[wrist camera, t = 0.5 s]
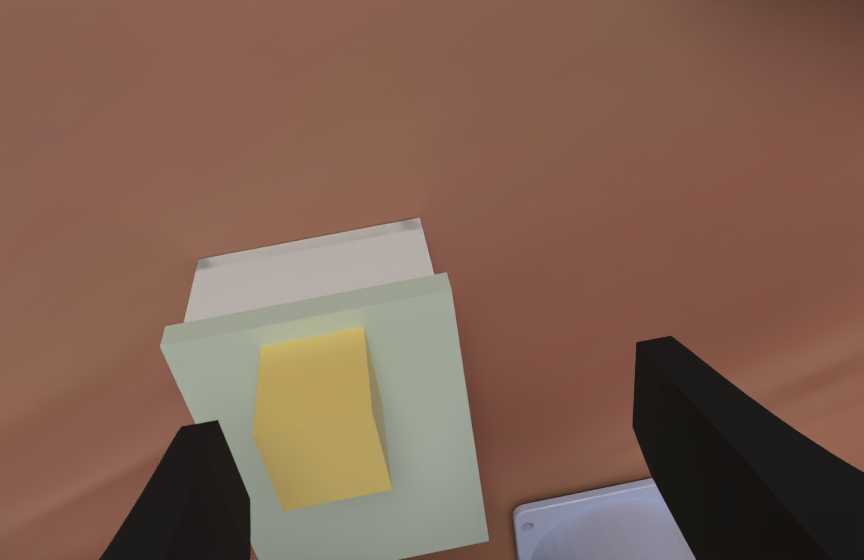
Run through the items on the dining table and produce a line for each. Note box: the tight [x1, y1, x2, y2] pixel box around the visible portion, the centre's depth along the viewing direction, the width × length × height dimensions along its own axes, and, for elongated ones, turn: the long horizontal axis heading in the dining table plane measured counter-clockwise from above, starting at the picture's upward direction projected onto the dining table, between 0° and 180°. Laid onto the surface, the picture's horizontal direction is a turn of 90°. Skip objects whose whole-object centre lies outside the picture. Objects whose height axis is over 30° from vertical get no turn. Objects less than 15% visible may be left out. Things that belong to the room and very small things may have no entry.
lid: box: [160, 272, 489, 560], centre depth 20 cm, size 10×7×5 cm
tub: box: [184, 218, 434, 323], centre depth 23 cm, size 10×7×4 cm
